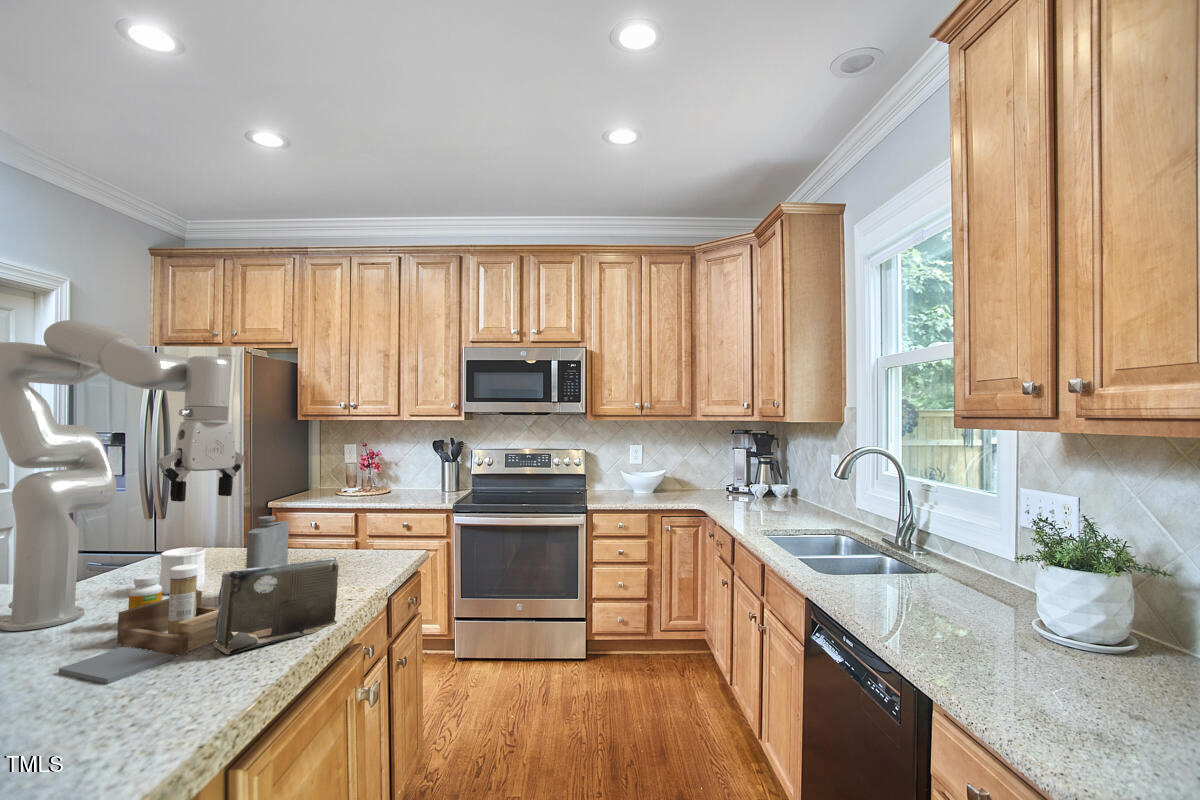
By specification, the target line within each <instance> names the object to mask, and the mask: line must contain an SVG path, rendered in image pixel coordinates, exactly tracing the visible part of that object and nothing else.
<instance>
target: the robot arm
mask: <svg viewBox="0 0 1200 800" xmlns="http://www.w3.org/2000/svg"><path fill="white" fill-rule="evenodd" d="M43 342H44V344H45V345H44V344H36V343H28V342H21V341H20V342H19V341H16V342H15V341H7V342H6V341H5V342H0V436H1V438H2V442H3V444H4V447H5V450H6V452H7V455H8V458H9V459H10V461H11V463H12V464H13V465H15V466H16V467H19V468H22V469H51V468H53V469H54V468H65V469H57V470H42V471H37V472H33V473H31V474H29V475H26V476H24V477H22V478H21V479H19V480H18V481H17V482H16V483H15V484H14V486H13V488H12V492H11V503H12V507H13V512H14V517H15V525H16V529H15V531H16V532H15V533H16V536H15V551H14V553H15V554H14V555H15V556H14V569H13V585H12V597H11V598H12V599H11V600H12V601H11V602H9V603H8V605H7V607H8V608H9V609H11V614H10V616H8V617H6V618H4V619H2V620H1V621H0V630H3V631H6V632H7V631H8V632H21V631H31V630H38V629H43V628H45V629H47V628H49V627H55V626H60V625H62V624H66V623H70V622H73V621H75V620H78V619H80V618H81V617H83V616H84V615H85V608H84V607H82V606H77V605H76V593H77V591H76V590H77V576H78V575H77V574H78V560H79V559H78V557H79V542H80V540H79V539H80V534H79V529H78V526H77V525H76V523H75V522H74V521H73V519H72V518H71V516H70V514H72V513H78V512H85V511H87V512H88V511H92V510H99V509H101V508H104V507H107V506H108V505H110V504H111V503H112V501H114V499H115V497H116V495H117V492H118V487H117V479H116V476H115V473H114V470H113V468H112V464H111V462H110V459H109V456H108V453H107V451H106V447H105V444H104V443H103V440H102V439H101V437H100V435H99V434H98V433H97V432H96V431H94V430H93V429H92V428H90V427H88V426H84V425H78V424H60V423H58V422H57V421H56V420H55V417H54V415H53V412H52V409H51V406H50V404H49V403H48V401H47V400H46V399H45V398H44V397H43V395H42V394H40V393H39V392H38V391H36V390H35V389H34V388H33V387H31V386H30V384H29V383H33V384H34V383H35V384H46V385H47V384H48V385H59V386H60V385H61V386H72V385H78V384H81V383H83V382H85V381H87V380H89V379H91V378H93V377H94V376H97V375H98V374H101V373H102V374H103V375H104V376H105V377H107V378H109V379H110V380H113V381H116V382H120V383H123V384H126V385H129V386H132V387H135V388H140V389H142V390H153V391H168V392H178V393H185V394H184V406H183V409H179V411H178V415H179V416H180V417H183V421H181V422H180V424H179V427H178V430H177V434H176V439H175V444H174V451H173V452H170V453H169V454H167V455H165V456H163V457H161V458H159V459H158V460H157V464H158V466H159V468H160V470H161V473H162V474H163V475H164V476H165V477H166V478H167V480H168V481H169V482H170V489H169V490H170V493H169V496H170V500H171V502H178V503H180V502H181V503H182V502H185V501H186V495H187V494H186V493H187V482H186V480H184V479H186V477H187V476H188V474H190V472H205V471H206V472H208V471H218V473H219V474H220V475H221V476H219V478H218V488H217V489H218V490H217V491H218V492H217V493H218V496H221V497H231V496H232V495H233V494H232V493H233V484H234V483H233V482H234V481H233V479H234V478H235V477H236V476H237V473H238V472H239V471H240V470H241V468H242V465H243V462H245V459H246V457H245V455H243V454H242V453H239V452H238V451H236V443H235V442H236V441H235V433H234V428H233V424H232V422H229V409H230V408H229V405H230V386H231V385H230V384H231V363H230V361H229V360H228V359H226V358H223V357H220V356H210V355H196V356H191V357H187V356H180V355H173V354H167V353H161V352H153V351H148V350H146V349H145V350H144V349H141V348H139V347H138V344H137V343H136V341H135V340H133V338H130V337H129V336H126V334H125V333H123V331H121V330H119V329H118V328H116V327H112V326H108V325H107V326H106V325H102V324H97V323H91V322H86V321H81V320H70V319H67V320H60V321H56V322H54V323H52V324H50V325H49V326H47V327H46V329H45V331H44V333H43ZM171 463H173V467H174V468H172V465H171Z"/></svg>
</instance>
